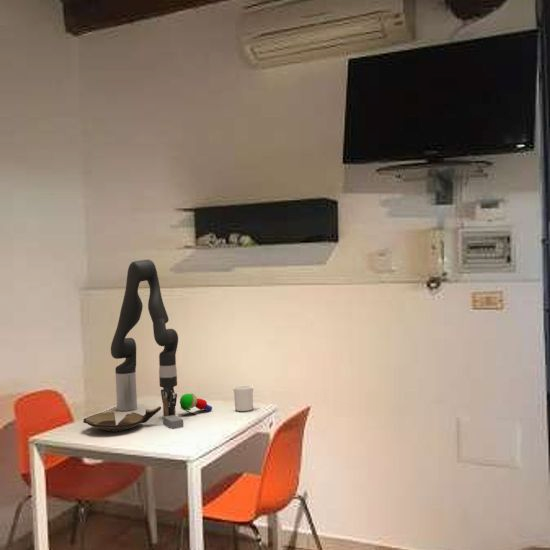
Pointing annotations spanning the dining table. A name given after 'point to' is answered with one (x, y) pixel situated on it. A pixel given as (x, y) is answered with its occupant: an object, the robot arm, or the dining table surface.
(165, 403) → the block
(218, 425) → the dining table surface
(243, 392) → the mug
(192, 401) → the toy
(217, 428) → the dining table surface
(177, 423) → the hammer head
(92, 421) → the oil lamp
